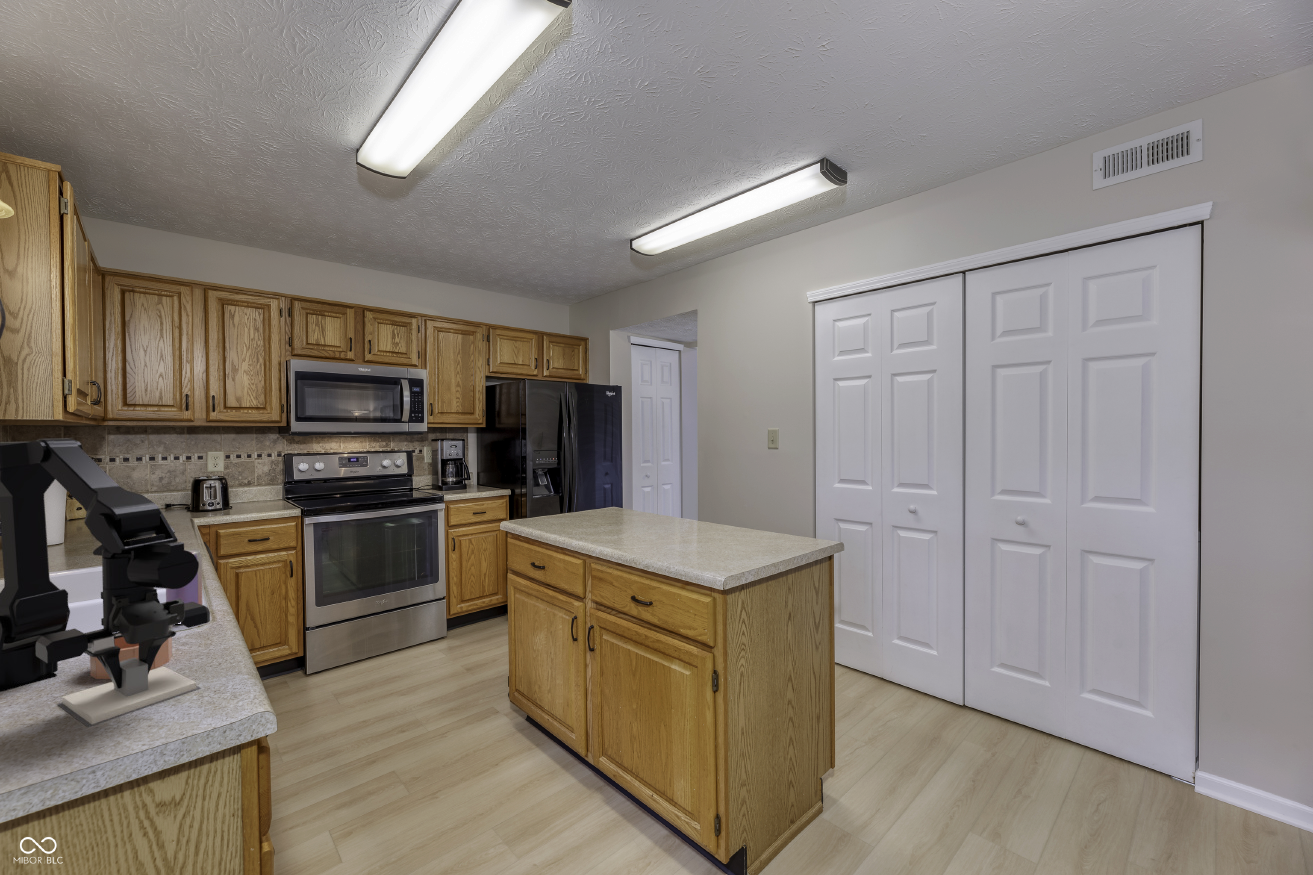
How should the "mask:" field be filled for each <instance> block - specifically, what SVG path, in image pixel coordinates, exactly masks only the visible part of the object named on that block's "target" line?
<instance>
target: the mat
mask: <svg viewBox="0 0 1313 875" xmlns="http://www.w3.org/2000/svg"><path fill="white" fill-rule="evenodd" d="M201 689H202V687H200V686H199V685H196V689H194V690H191V691H188V692H185V693H182V694H179V695H177V696H174V697H171V698H168V699H165V700H162V701H159V702H156V703H153V704H150V705H147V706H144V707H141V708H138V709H136V710H133V711H130V712H127V713H124V714H121V715H118V716H115V717H112V718H109V719H106V720H103V721H100V722H98V723H95V724H91V723H89V722H88V721H86V720H85V719H84V718H82V717H81V716H79V715H78V714H77V713H75V712H74V711H73V710H71V709H70V708H68V707H67V706H66V705H64V704H63V701H62V702H59V703H56V705H57V706H58V707H60V708H61V709H62V710H64V711H65V712H66V713H68V714H69V715H70V716H72V717H73V718H74V719H76V720H77V721H79V722H80V723H81V724H83V725H84V726H86V727H87V728H90V727H94V726H97V725H99V724H102V723H106V722H108V721H111V720H114V719H117V718H120V717H122V716H126V715H129V714H131V713H134V712H138V711H140V710H143V709H146V708H150V707H152V706H154V705H158V704H160V703H163V702H166V701H169V700H172V699H175V698H178V697H181V696H183V695H186V694H189V693H193V692H195V691H199V690H201Z"/></svg>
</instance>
